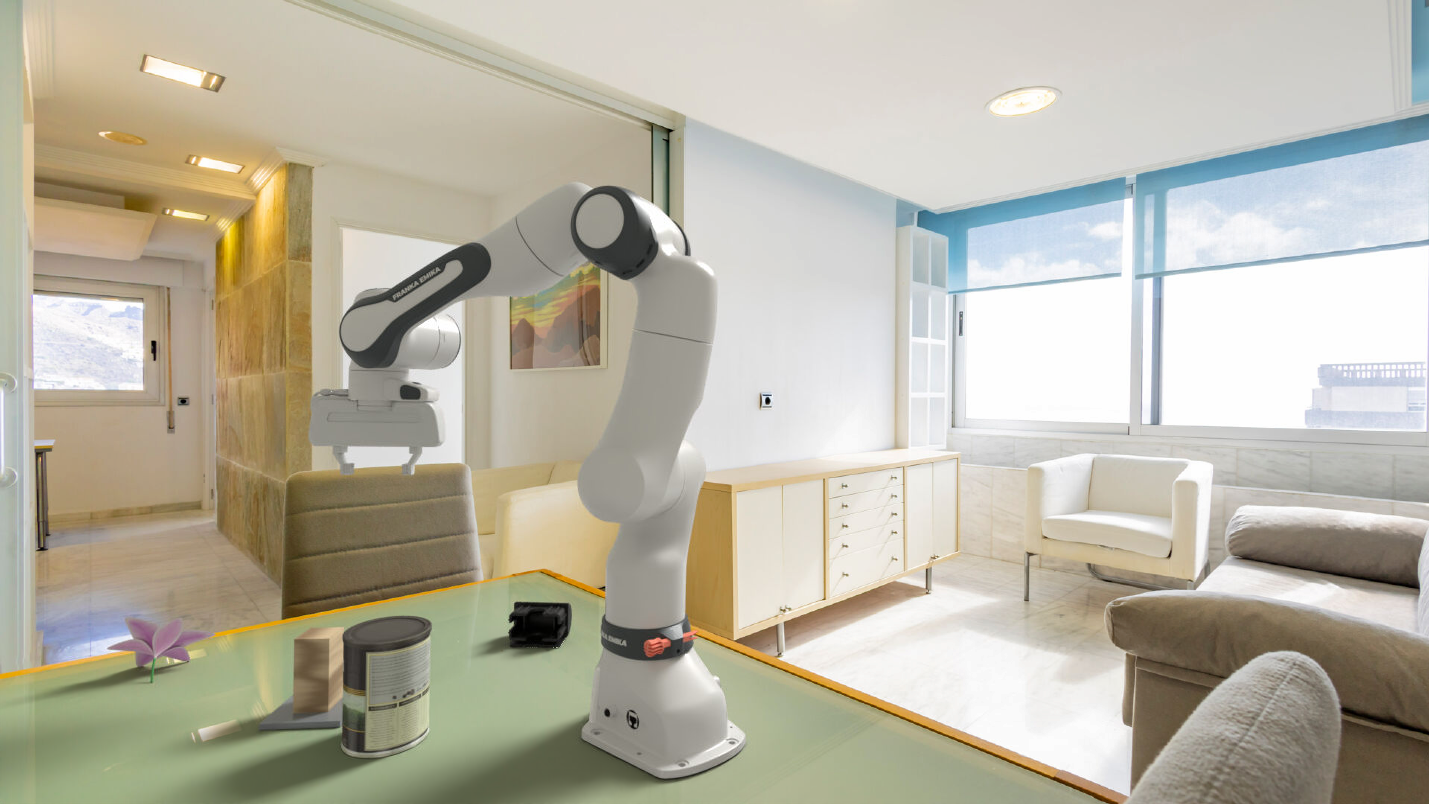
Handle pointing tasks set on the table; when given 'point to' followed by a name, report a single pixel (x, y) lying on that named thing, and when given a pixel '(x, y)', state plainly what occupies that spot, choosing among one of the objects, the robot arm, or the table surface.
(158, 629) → the lily
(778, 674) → the table surface
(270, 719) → the slate coaster
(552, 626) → the end cap
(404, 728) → the coffee can
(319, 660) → the oak block
